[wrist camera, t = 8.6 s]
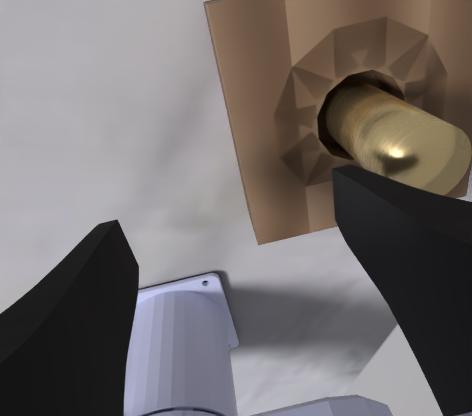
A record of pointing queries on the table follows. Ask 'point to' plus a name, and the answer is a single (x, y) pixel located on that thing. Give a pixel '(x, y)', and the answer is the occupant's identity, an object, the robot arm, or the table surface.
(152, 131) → the table surface
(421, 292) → the robot arm
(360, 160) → the brass peg
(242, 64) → the socket block
